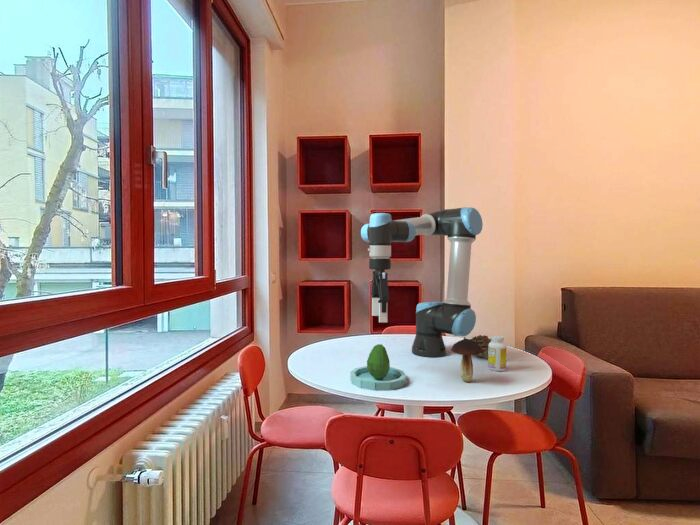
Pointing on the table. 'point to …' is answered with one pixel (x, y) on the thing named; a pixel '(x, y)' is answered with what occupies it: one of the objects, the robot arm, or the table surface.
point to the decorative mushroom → (466, 356)
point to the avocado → (378, 362)
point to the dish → (367, 381)
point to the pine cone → (482, 344)
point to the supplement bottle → (497, 354)
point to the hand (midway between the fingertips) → (379, 318)
